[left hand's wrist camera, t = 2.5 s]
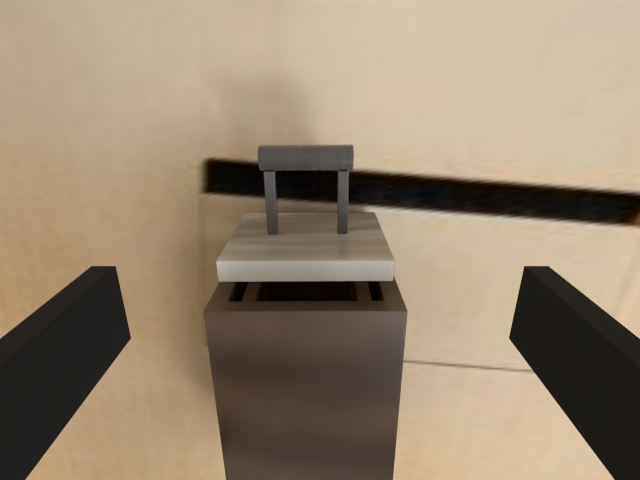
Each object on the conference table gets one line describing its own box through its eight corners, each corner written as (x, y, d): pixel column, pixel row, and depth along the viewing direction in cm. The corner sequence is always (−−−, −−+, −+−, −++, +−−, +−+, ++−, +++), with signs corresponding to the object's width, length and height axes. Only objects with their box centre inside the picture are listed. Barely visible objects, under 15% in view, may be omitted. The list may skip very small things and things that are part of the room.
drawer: (238, 136, 25) (203, 158, 18) (378, 135, 25) (402, 157, 18) (260, 403, 33) (242, 494, 26) (365, 403, 33) (378, 494, 26)
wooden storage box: (241, 238, 29) (203, 311, 19) (379, 237, 29) (407, 310, 19) (257, 426, 35) (235, 546, 26) (369, 425, 35) (387, 546, 26)
